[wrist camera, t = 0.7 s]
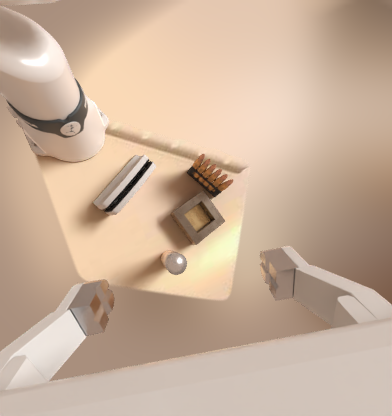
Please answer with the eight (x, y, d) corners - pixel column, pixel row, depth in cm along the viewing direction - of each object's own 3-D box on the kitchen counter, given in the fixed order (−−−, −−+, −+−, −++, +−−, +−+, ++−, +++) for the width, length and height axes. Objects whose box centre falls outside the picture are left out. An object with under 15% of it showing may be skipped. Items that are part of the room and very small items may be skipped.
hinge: (135, 154, 50) (146, 145, 41) (148, 167, 52) (162, 161, 43) (91, 204, 45) (93, 205, 36) (108, 215, 47) (114, 219, 38)
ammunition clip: (186, 172, 53) (198, 154, 41) (190, 168, 53) (203, 148, 42) (214, 197, 54) (233, 185, 43) (218, 192, 54) (238, 180, 43)
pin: (157, 257, 47) (162, 262, 36) (170, 247, 48) (178, 249, 37) (167, 269, 47) (174, 279, 36) (179, 259, 48) (190, 265, 37)
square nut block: (170, 214, 50) (172, 212, 46) (198, 193, 53) (203, 190, 49) (192, 244, 50) (196, 244, 46) (219, 222, 53) (225, 221, 49)
